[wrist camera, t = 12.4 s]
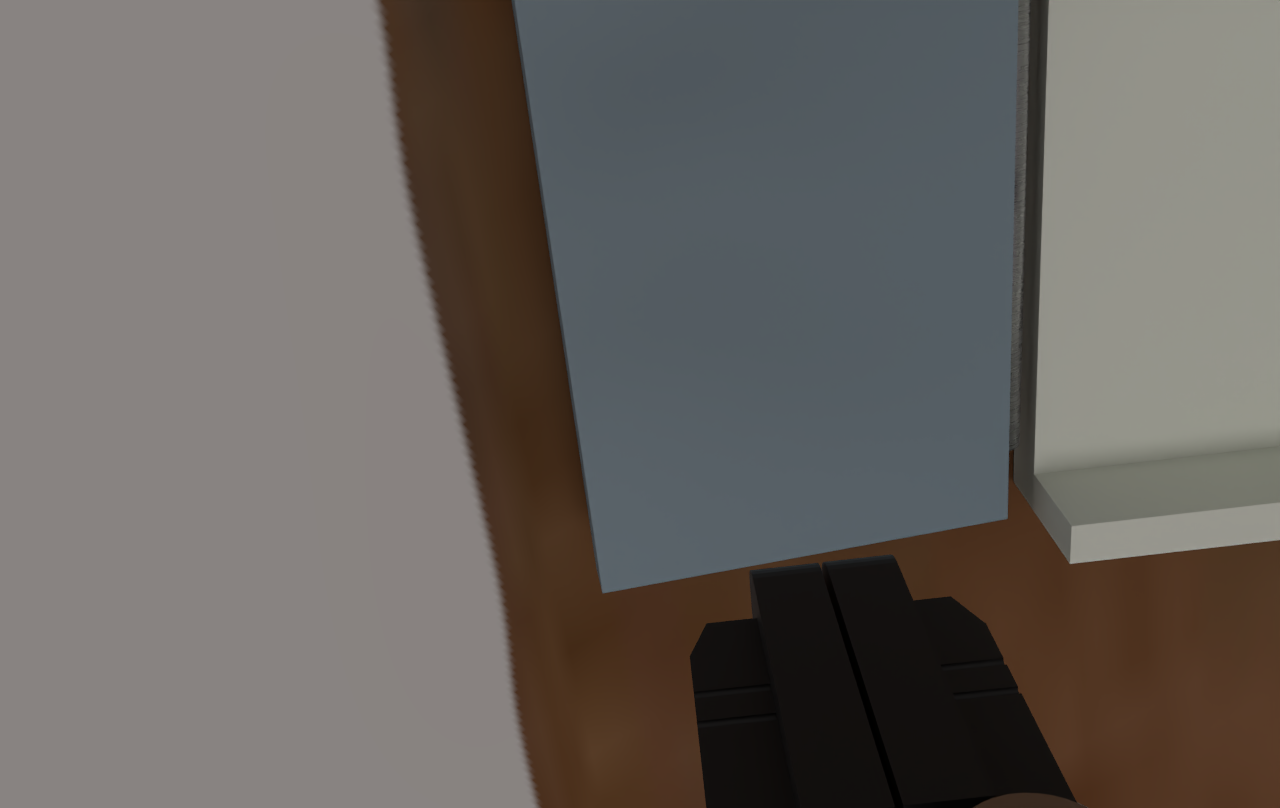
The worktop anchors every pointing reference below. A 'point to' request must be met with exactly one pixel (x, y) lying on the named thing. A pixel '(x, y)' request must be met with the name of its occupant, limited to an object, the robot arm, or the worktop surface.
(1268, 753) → the worktop surface
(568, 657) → the worktop surface
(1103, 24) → the cart
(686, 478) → the tailgate
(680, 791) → the worktop surface
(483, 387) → the worktop surface
